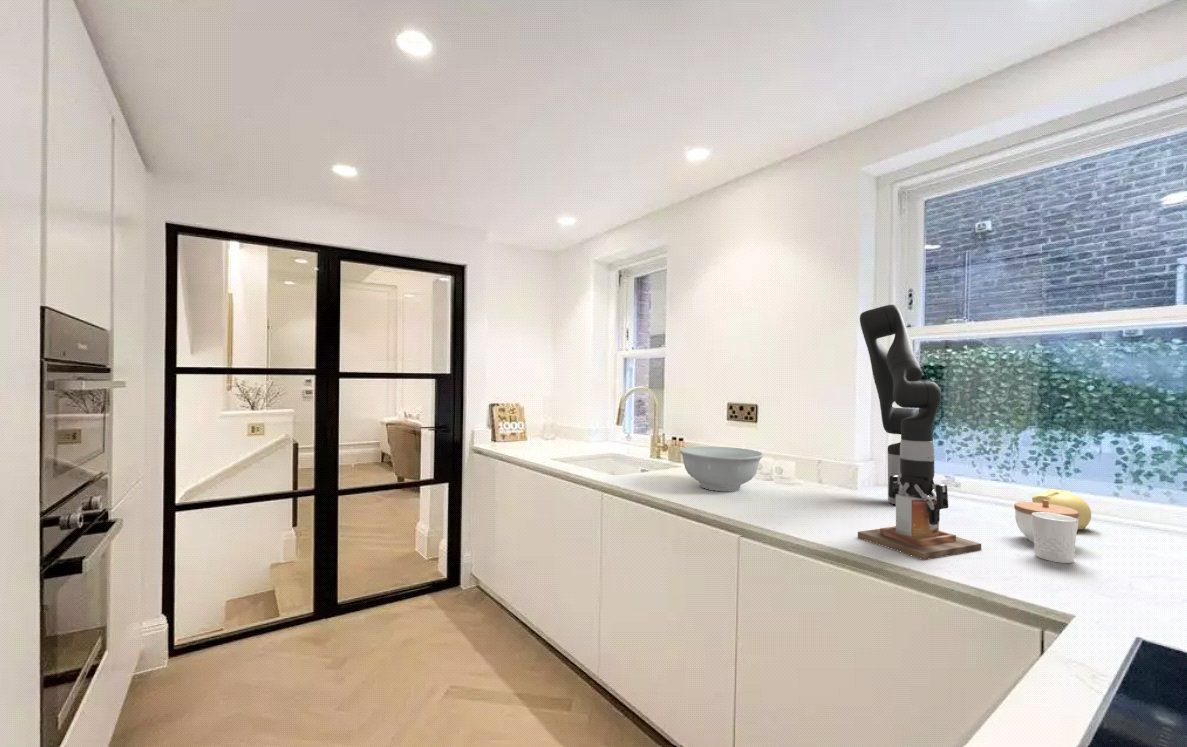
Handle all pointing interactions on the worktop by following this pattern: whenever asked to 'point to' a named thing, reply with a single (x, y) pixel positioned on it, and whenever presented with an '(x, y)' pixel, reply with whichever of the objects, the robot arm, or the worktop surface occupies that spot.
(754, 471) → the bowl
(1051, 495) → the sculpture
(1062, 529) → the white cup
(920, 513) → the small box
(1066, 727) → the worktop surface
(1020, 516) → the lidded bowl
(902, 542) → the walnut board
